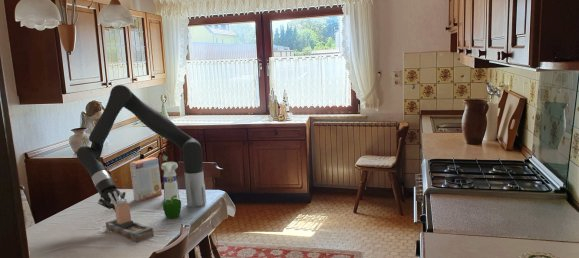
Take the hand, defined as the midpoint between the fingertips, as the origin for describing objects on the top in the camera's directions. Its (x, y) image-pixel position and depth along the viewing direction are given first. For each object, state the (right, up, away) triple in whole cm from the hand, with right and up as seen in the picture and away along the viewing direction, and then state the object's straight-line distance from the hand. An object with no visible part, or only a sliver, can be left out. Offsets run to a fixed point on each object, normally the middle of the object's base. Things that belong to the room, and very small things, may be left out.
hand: (120, 213), depth 195 cm
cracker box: (-3, 0, +46) cm, 47 cm away
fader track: (+5, -8, -2) cm, 9 cm away
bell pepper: (+19, -4, +15) cm, 25 cm away
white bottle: (+12, 0, +42) cm, 43 cm away
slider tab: (+2, -5, -1) cm, 5 cm away
